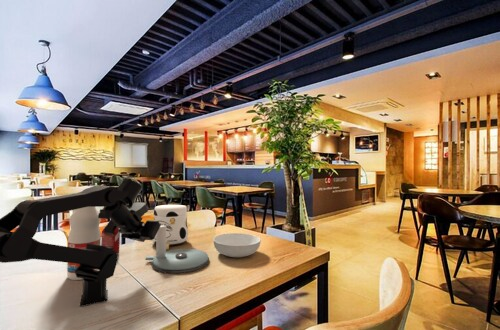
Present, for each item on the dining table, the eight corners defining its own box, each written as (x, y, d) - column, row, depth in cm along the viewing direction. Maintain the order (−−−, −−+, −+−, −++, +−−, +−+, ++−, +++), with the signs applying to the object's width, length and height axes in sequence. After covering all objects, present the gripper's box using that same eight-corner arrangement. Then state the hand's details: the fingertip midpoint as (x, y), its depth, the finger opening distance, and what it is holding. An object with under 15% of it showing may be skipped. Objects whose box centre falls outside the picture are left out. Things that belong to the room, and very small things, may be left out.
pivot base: (217, 267, 97) (217, 254, 97) (156, 278, 86) (156, 263, 86) (198, 249, 118) (198, 238, 118) (147, 256, 107) (147, 244, 107)
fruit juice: (105, 272, 90) (108, 193, 90) (78, 283, 82) (81, 195, 82) (88, 267, 94) (90, 191, 94) (60, 277, 85) (63, 193, 86)
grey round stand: (215, 264, 97) (216, 230, 97) (151, 275, 86) (152, 236, 86) (198, 248, 115) (199, 219, 116) (144, 255, 104) (145, 224, 104)
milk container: (149, 249, 115) (150, 210, 116) (152, 239, 132) (153, 204, 132) (189, 247, 120) (189, 209, 120) (187, 237, 137) (188, 204, 137)
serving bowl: (268, 259, 107) (268, 243, 107) (219, 265, 99) (220, 247, 99) (250, 245, 126) (250, 231, 126) (208, 249, 118) (208, 234, 119)
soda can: (111, 258, 103) (112, 229, 104) (97, 257, 105) (97, 227, 105) (122, 253, 110) (123, 225, 110) (109, 252, 111) (110, 224, 112)
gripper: (158, 196, 84) (175, 223, 94) (111, 194, 89) (133, 219, 99) (140, 226, 76) (162, 251, 87) (91, 221, 81) (117, 245, 92)
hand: (143, 240), depth 91 cm, fingers closed
